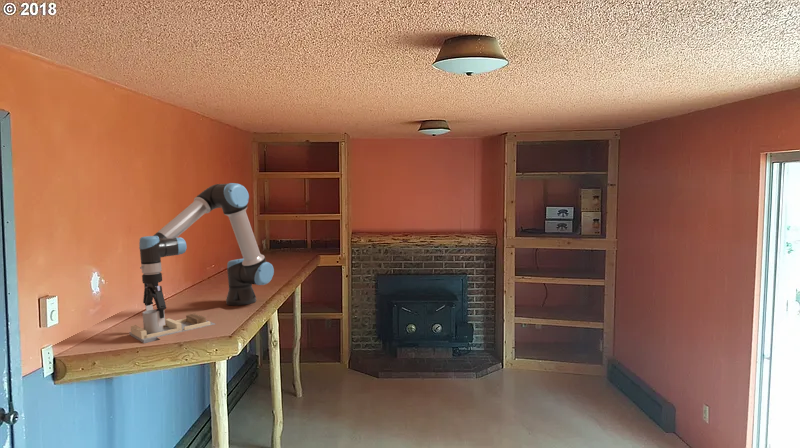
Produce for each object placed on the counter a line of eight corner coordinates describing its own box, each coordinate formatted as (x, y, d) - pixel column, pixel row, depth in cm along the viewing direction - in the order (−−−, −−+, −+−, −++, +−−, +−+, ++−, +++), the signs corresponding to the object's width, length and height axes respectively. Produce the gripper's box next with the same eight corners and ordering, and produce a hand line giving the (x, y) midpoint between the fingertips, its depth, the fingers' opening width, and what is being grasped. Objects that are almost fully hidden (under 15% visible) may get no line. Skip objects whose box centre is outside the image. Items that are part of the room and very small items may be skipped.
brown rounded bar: (195, 319, 239) (194, 313, 239) (206, 324, 230) (206, 317, 230) (186, 321, 236) (186, 315, 236) (197, 326, 228) (197, 319, 227)
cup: (140, 334, 218) (138, 313, 217) (156, 327, 228) (155, 307, 227) (155, 335, 216) (153, 313, 216) (171, 328, 226) (169, 307, 225)
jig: (199, 320, 243) (198, 311, 243) (216, 326, 230) (215, 317, 230) (129, 334, 223) (128, 325, 223) (143, 343, 210) (143, 332, 209)
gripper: (132, 271, 226) (136, 320, 228) (152, 277, 208) (157, 330, 210) (150, 269, 231) (154, 316, 233) (172, 274, 213) (176, 326, 215)
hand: (155, 323), depth 221 cm, fingers open, 13 cm apart
